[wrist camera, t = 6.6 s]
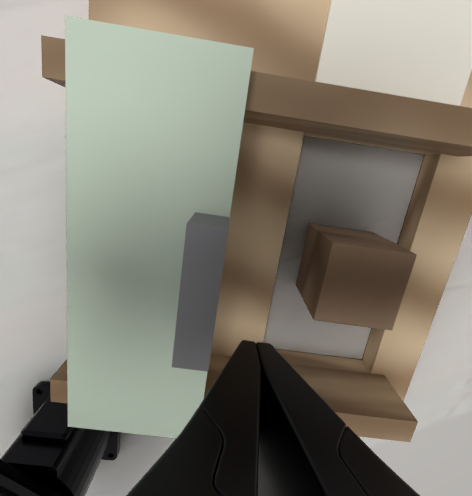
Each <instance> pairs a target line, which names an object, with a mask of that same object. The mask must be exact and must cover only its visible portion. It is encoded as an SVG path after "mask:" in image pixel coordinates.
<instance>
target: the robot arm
mask: <svg viewBox="0 0 472 496" xmlns="http://www.w3.org/2000/svg"><path fill="white" fill-rule="evenodd" d="M40 389H41V390H40ZM33 410H34V416H33V417H32V418H31V420H30V421H29V422H28V423H27V425H26V426H25V427H24V428H23V430H22V431H21V434H20V435H19V436H18V438H17V439H16V440H15V441H14V443H13V444H12V445H11V446H10V448H9V449H8V450H7V452H6V453H5V454H4V455H3V457H2V458H1V459H0V496H85V494H86V492H87V490H88V488H89V485H90V483H91V481H92V479H93V476H94V474H95V472H96V470H97V468H98V465H99V463H100V461H101V459H104V460H114V459H116V458H117V455H118V452H119V438H120V432H113V431H104V430H95V429H86V428H77V427H68V403H59V402H51V394H50V383H38V384H37V385H36V386H35V387H34V388H33ZM126 496H420V495H419V494H418V493H416V492H415V491H414V490H413V489H412V488H411V487H410V486H409V485H408V484H407V483H405V482H404V481H403V480H402V479H401V478H400V477H399V476H398V475H397V474H396V473H395V472H394V471H393V470H392V469H390V467H388V466H387V465H386V464H385V463H384V462H383V461H382V460H381V459H380V458H379V457H378V456H377V455H376V454H375V453H374V452H373V451H372V450H371V449H370V448H369V447H368V446H367V445H366V444H365V443H364V442H363V441H362V440H361V439H360V438H359V437H358V436H357V435H356V434H355V433H354V432H353V430H352V429H351V428H350V427H348V426H347V427H346V423H345V422H344V421H343V420H342V419H341V418H340V417H339V416H338V415H337V414H336V413H335V412H334V411H333V410H332V408H331V407H330V406H329V405H328V404H327V403H326V402H325V401H324V400H323V399H322V398H321V397H320V396H319V395H318V394H317V393H316V392H315V391H314V389H313V388H312V387H311V386H310V385H309V384H308V383H307V382H306V381H305V380H304V379H303V378H302V377H301V376H300V375H299V374H298V373H297V372H296V370H295V369H294V368H293V367H292V366H291V365H290V364H289V363H288V362H287V361H286V360H285V359H284V358H283V357H282V356H281V355H280V354H279V353H278V351H277V350H276V349H275V348H274V347H273V346H272V345H271V344H269V343H262V342H257V343H255V342H254V341H247V340H242V341H241V342H240V343H239V345H238V346H237V348H236V350H235V351H234V353H233V354H232V356H231V357H230V359H229V360H228V362H227V364H226V365H225V367H224V368H223V370H222V371H221V373H220V374H219V376H218V377H217V379H216V381H215V382H214V384H213V385H212V387H211V388H210V390H209V391H208V393H207V395H206V396H205V398H204V399H203V401H202V402H201V404H200V405H199V408H197V410H196V411H195V413H194V414H193V416H192V417H191V419H190V420H189V422H188V423H187V425H186V426H185V427H184V429H183V430H182V432H181V433H180V434H179V436H178V437H177V438H176V439H175V440H174V442H173V443H172V444H171V445H170V447H169V448H168V449H167V450H166V451H165V453H164V454H163V455H162V456H161V457H160V458H159V459H158V460H157V462H156V463H155V464H154V465H153V466H152V467H151V468H150V469H149V471H148V472H147V473H146V474H145V475H144V476H143V477H142V479H141V480H140V481H139V482H138V483H137V484H136V485H135V486H134V488H133V489H132V490H131V491H130V492H129V493H128V494H127V495H126Z"/></svg>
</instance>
